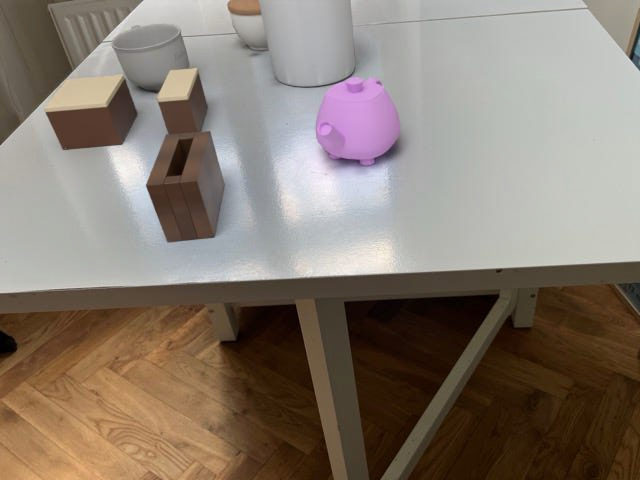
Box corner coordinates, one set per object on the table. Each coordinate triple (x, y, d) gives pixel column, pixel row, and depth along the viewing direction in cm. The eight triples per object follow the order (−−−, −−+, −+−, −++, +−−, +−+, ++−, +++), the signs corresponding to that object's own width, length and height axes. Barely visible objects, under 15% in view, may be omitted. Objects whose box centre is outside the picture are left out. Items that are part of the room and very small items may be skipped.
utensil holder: (254, 85, 90) (229, -36, 79) (292, 53, 101) (275, -58, 89) (338, 92, 87) (326, -34, 75) (368, 58, 97) (361, -57, 85)
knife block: (214, 237, 59) (196, 180, 55) (167, 242, 59) (145, 185, 54) (224, 184, 67) (210, 130, 63) (183, 188, 67) (165, 134, 62)
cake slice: (170, 139, 77) (156, 97, 73) (181, 109, 84) (169, 70, 80) (199, 137, 77) (187, 95, 73) (208, 107, 85) (197, 67, 81)
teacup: (198, 89, 90) (184, 37, 85) (128, 102, 88) (110, 49, 82) (188, 61, 100) (174, 14, 95) (125, 72, 97) (108, 24, 92)
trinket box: (242, 58, 100) (230, 2, 94) (231, 41, 108) (220, -13, 101) (299, 48, 103) (291, -8, 96) (285, 32, 110) (277, -21, 104)
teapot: (416, 135, 75) (416, 65, 69) (365, 190, 65) (359, 114, 59) (349, 123, 78) (343, 55, 72) (291, 173, 69) (278, 100, 62)
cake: (62, 149, 76) (43, 108, 72) (83, 118, 84) (67, 79, 80) (121, 144, 77) (105, 102, 73) (137, 113, 84) (123, 74, 80)
